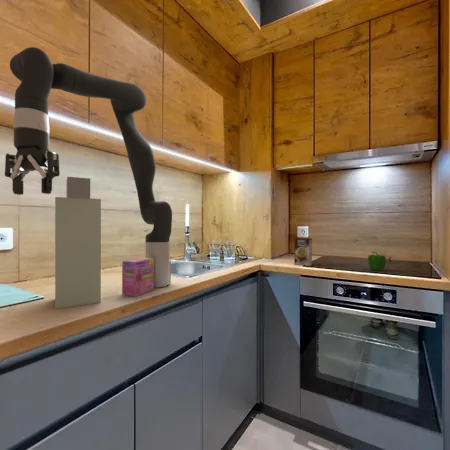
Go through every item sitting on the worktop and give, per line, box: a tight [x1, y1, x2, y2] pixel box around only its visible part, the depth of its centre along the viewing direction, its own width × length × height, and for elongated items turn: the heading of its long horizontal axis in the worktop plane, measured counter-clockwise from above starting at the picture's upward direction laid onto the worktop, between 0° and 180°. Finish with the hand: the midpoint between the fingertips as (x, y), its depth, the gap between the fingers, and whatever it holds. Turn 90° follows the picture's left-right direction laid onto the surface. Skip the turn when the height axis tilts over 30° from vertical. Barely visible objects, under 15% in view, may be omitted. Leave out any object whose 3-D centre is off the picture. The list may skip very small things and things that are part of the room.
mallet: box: [65, 176, 91, 199], centre depth 91 cm, size 22×6×6 cm, turn 32°
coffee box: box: [293, 237, 313, 267], centre depth 167 cm, size 9×6×16 cm
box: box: [121, 257, 154, 297], centre depth 98 cm, size 10×6×12 cm, turn 158°
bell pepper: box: [367, 250, 387, 272], centre depth 147 cm, size 8×8×10 cm
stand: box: [54, 196, 102, 309], centre depth 88 cm, size 12×12×32 cm
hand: (32, 194), depth 71 cm, fingers open, 8 cm apart
